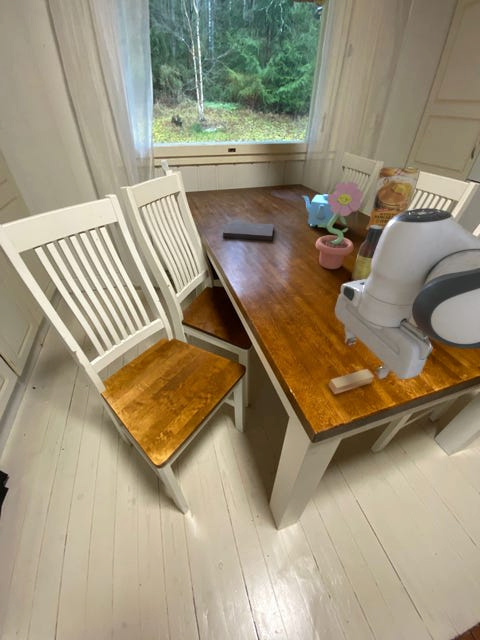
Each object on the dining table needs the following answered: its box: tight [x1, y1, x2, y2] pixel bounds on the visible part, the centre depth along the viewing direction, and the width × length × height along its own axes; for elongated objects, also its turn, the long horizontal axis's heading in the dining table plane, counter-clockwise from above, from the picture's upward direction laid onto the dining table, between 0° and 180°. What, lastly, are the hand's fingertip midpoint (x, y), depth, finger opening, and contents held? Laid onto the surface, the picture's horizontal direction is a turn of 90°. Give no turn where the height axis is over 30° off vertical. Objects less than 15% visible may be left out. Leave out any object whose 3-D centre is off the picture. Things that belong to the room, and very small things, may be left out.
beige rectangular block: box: [328, 368, 375, 395], centre depth 62 cm, size 10×2×2 cm, turn 109°
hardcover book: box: [222, 221, 275, 241], centre depth 133 cm, size 16×23×2 cm
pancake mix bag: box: [365, 167, 421, 233], centre depth 130 cm, size 7×19×28 cm, turn 85°
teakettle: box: [301, 193, 334, 229], centre depth 140 cm, size 19×19×15 cm
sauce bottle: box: [351, 225, 383, 282], centre depth 92 cm, size 7×6×20 cm
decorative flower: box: [315, 181, 363, 270], centre depth 99 cm, size 15×14×30 cm
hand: (363, 358), depth 57 cm, fingers open, 8 cm apart
